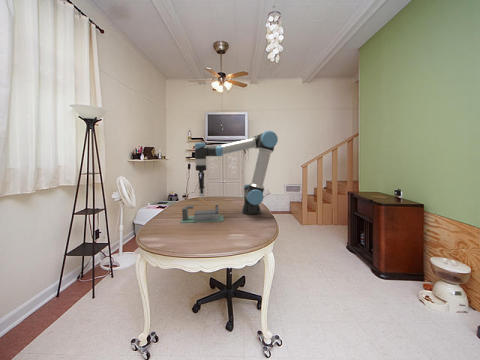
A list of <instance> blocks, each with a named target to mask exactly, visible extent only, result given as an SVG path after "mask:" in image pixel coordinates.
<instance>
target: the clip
mask: <svg viewBox="0 0 480 360" xmlns="http://www.w3.org/2000/svg"><path fill="white" fill-rule="evenodd" d="M194 207H195V205H187V206H184V207H182V208H181V213H182V214H181V215H182V219H183V220H187V219H188V217H189V210H192V209H194Z"/></svg>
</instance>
